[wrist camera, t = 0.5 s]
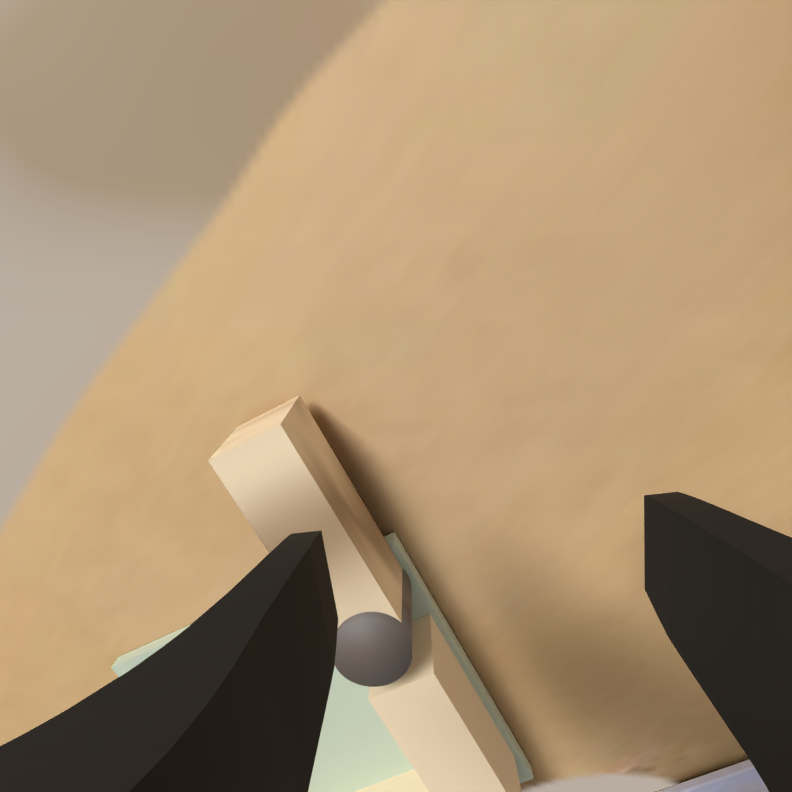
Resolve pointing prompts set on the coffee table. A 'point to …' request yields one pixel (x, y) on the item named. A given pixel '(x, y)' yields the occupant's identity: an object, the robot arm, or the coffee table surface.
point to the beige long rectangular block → (324, 534)
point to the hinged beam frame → (409, 718)
